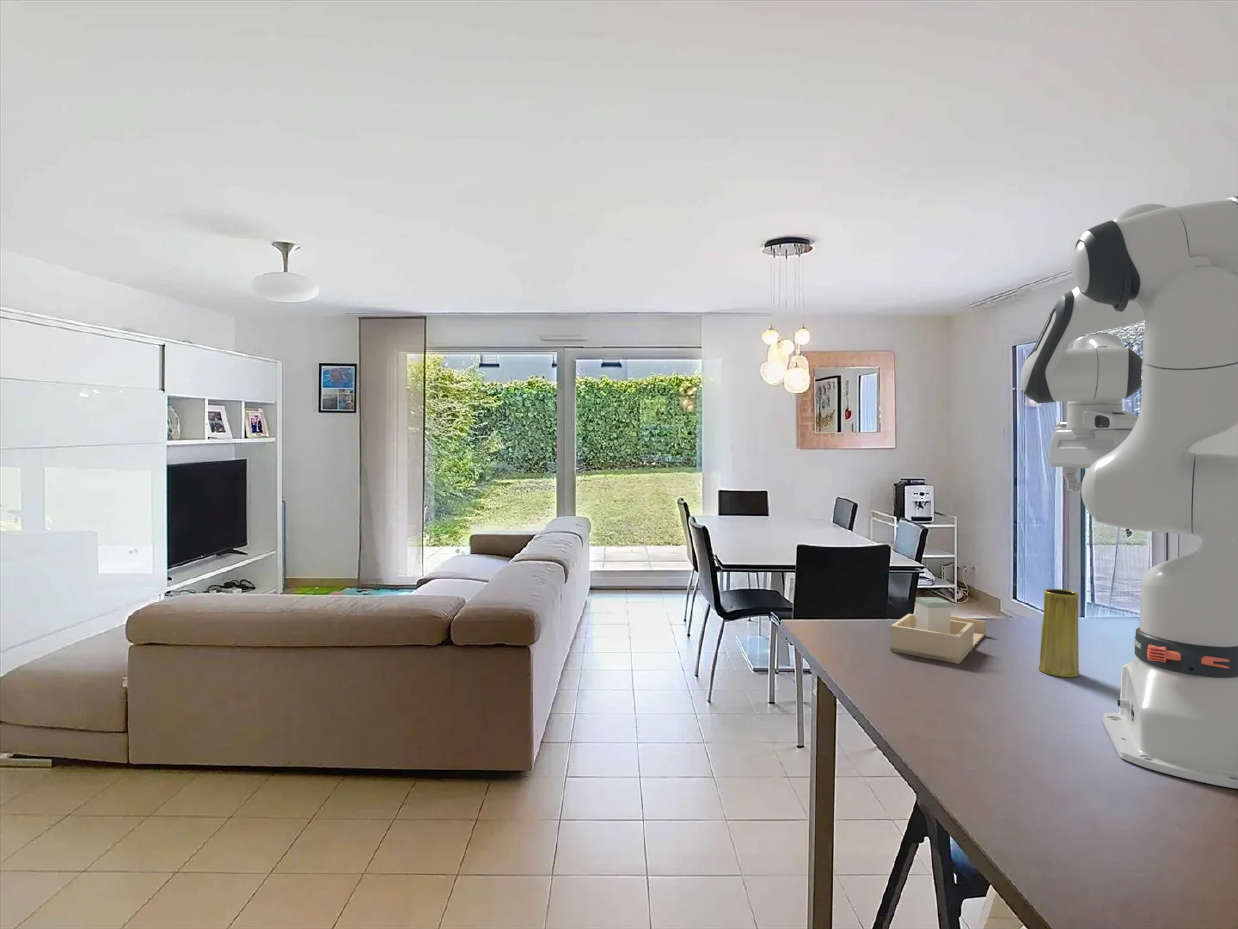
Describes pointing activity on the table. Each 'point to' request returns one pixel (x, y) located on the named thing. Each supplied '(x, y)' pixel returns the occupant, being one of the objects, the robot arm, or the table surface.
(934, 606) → the carton
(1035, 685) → the table surface
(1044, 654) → the vase
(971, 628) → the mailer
